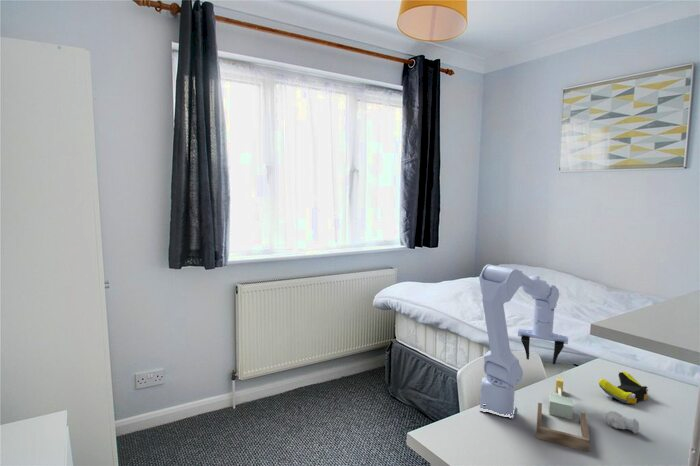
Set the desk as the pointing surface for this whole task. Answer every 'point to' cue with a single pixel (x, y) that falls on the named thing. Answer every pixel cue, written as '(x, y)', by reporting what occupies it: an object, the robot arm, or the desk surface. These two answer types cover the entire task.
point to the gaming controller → (625, 389)
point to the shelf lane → (564, 434)
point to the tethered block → (560, 402)
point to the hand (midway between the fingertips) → (540, 360)
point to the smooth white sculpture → (622, 422)
